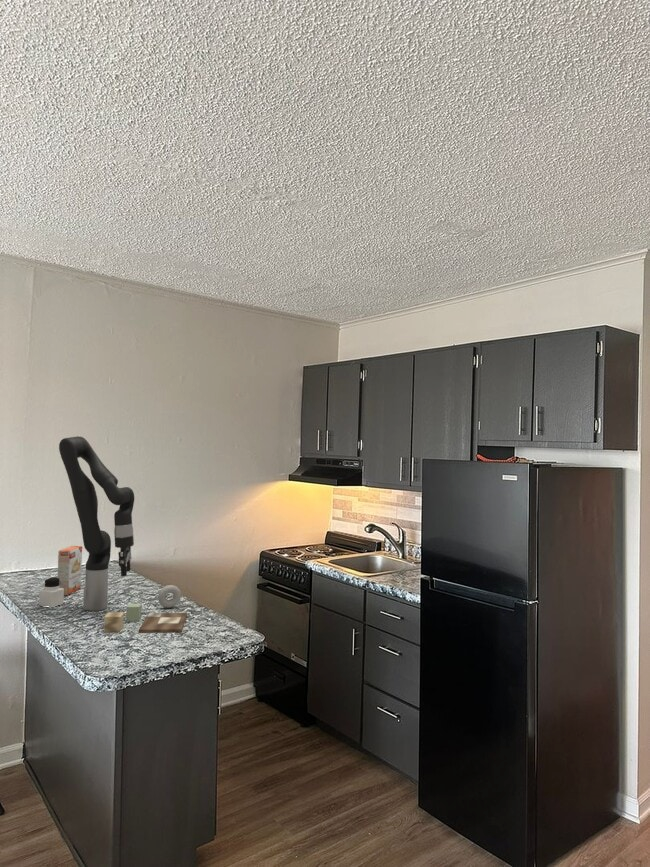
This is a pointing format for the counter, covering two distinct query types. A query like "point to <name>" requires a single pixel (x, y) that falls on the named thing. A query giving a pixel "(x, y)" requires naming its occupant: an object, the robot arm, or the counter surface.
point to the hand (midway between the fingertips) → (125, 573)
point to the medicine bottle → (51, 593)
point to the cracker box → (70, 568)
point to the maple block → (114, 622)
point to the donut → (165, 591)
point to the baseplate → (163, 622)
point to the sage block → (133, 612)
